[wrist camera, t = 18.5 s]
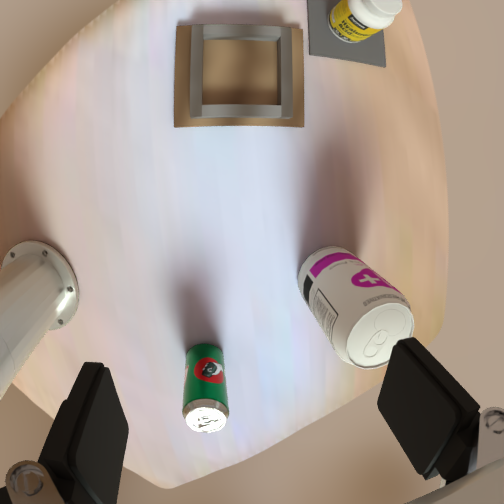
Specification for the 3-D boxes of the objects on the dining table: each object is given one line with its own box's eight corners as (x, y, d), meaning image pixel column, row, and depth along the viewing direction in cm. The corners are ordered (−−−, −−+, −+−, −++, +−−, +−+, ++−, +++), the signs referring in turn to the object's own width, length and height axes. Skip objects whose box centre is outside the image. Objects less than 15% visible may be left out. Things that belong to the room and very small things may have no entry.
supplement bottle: (323, 35, 30) (357, 5, 21) (329, 1, 29) (362, -33, 20) (364, 50, 31) (407, 28, 22) (368, 16, 30) (409, -11, 21)
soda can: (180, 347, 41) (173, 411, 29) (215, 336, 41) (219, 399, 29) (195, 374, 42) (194, 438, 31) (228, 364, 42) (236, 428, 31)
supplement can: (317, 233, 38) (375, 282, 24) (367, 261, 40) (433, 314, 26) (284, 290, 40) (321, 362, 26) (335, 312, 42) (385, 381, 28)
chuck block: (175, 127, 32) (172, 125, 30) (177, 29, 29) (175, 19, 26) (301, 127, 34) (309, 125, 31) (300, 32, 30) (307, 23, 28)
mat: (309, 54, 31) (310, 54, 31) (306, -13, 28) (307, -15, 28) (384, 67, 33) (386, 66, 32) (378, 2, 29) (380, 1, 29)
